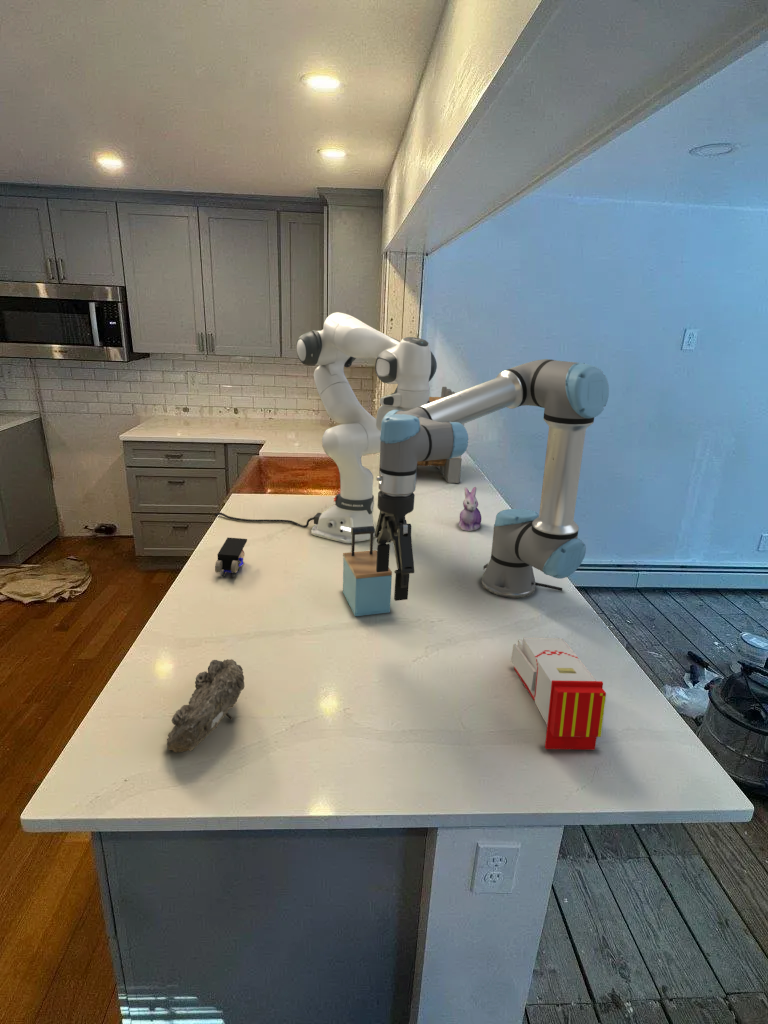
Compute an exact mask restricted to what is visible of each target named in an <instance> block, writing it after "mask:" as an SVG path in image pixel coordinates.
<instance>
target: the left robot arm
mask: <svg viewBox="0 0 768 1024" xmlns="http://www.w3.org/2000/svg"><path fill="white" fill-rule="evenodd" d="M295 349H296V350H295V351H296V356H297V358H298V360H299V361H300V363H301V364H302V365H304V366H310V367H314V366H316V367H315V369H314V372H313V380H314V385H315V389H316V391H317V393H318V396H319V398H320V401H321V403H322V405H323V407H324V409H325V412H326V413H327V416H328V417H329V418H330V420H331V421H333V422H335V423H337V425H335V426H332V427H329V428H327V429H325V431H324V432H323V435H322V437H321V447H322V449H323V452H324V453H325V455H326V456H328V457H329V458H330V459H332V461H333V462H334V463H335V465H336V466H337V470H338V472H339V482H340V484H339V485H340V488H339V489H340V490H339V491H338V492H337V494H336V495H335V496H334V497H333V502H334V504H333V505H331V506H329V507H328V508H326V509H325V510H323V512H316V514H315V515H313V517H310V518H308V519H307V520H306V524H304V525H302V524H300V523H298V522H297V521H294V520H290V519H252V518H251V519H250V518H249V519H248V518H240V517H234V516H229V515H227V514H225V513H223V512H216V513H215V514H214V517H217V516H222V517H224V518H226V519H229V520H232V521H233V520H234V521H241V522H247V523H248V522H249V523H290V524H293V525H294V526H297V527H301V528H304V529H305V528H308V527H309V525H310V522H311V521H313V524H314V525H313V526H312V528H311V530H310V533H311V536H315V537H319V538H323V539H326V540H330V541H336V542H339V543H343V544H352V535H351V528H352V527H365V526H374V527H375V523H374V513H373V512H374V509H375V496H374V474H373V472H372V471H371V469H369V468H368V467H366V466H364V465H363V463H362V457H364V456H370V455H371V456H372V455H378V454H380V435H381V423H382V420H383V418H384V416H385V415H386V414H387V413H388V412H389V411H392V410H404V411H408V410H411V409H414V408H417V407H420V406H423V405H425V404H428V403H431V402H432V401H429V397H430V389H431V388H430V381H431V380H432V379H433V378H434V377H435V375H436V372H437V369H438V363H437V359H436V357H435V355H434V354H433V352H432V351H431V344H430V343H429V342H428V341H427V340H426V339H424V338H420V337H413V336H406V337H403V338H401V340H400V339H396V338H394V337H393V336H390V335H388V334H386V333H384V332H382V331H379V330H377V329H375V328H374V327H372V326H371V325H368V324H367V323H365V322H363V321H361V320H360V319H359V318H356V317H355V316H352V315H350V314H348V313H345V312H339V311H336V312H332V313H330V314H329V315H328V316H327V317H326V318H325V320H324V322H323V329H321V330H316V329H312V330H311V331H307V332H304V333H303V334H301V335H300V336H299V337H298V339H297V340H296V344H295ZM356 359H375V363H374V371H375V374H376V377H377V378H378V380H380V382H382V383H383V384H388V385H397V386H398V387H397V386H396V388H397V393H394V392H392V393H390V394H387V395H384V396H382V397H380V398H379V404H380V406H379V407H378V409H377V412H376V417H374V416H373V415H372V414H371V413H370V412H369V411H368V410H366V409H365V408H364V406H363V405H362V404H361V402H360V401H359V400H358V398H357V396H356V394H355V392H354V391H353V388H352V386H351V384H350V382H349V380H348V378H347V376H346V374H345V371H344V370H345V369H344V368H350V367H351V366H353V365H352V364H353V362H354V361H356ZM373 538H375V532H374V533H373ZM368 540H369V541H370V534H360V535H355V543H357V542H365V541H368Z"/></svg>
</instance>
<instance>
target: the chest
mask: <svg viewBox="0 0 768 1024" xmlns="http://www.w3.org/2000/svg"><path fill="white" fill-rule="evenodd" d="M342 557H343V556H342ZM342 559H343V560H342V561H343V562H342V593H343V595H344V598H345V600H346V601H347V604H348V606H349V607H350V610H351V611H352V614H353V615H354V617H360V616H361V617H362V616H371V615H379V614H380V615H381V614H387V613H391V602H392V601H391V600H392V579H393V576H392V575H393V574H392V575H389V576H379V577H369V578H359V579H356V578H355V576H354V574H353V573H352V571H351V569H350V567H349V566H348V564H347V562H346V560H345V559H344V557H343V558H342Z"/></svg>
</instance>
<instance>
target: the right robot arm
mask: <svg viewBox="0 0 768 1024" xmlns="http://www.w3.org/2000/svg"><path fill="white" fill-rule="evenodd" d="M609 396H610V385H609V381H608V377H607V376H606V374H604V372H603V370H602V369H601V368H600V367H597V366H596V365H591V364H587V363H585V362H577V361H576V362H575V361H566V360H557V359H556V360H555V359H548V358H543V359H537V360H536V359H535V360H532V361H528V362H525V363H522V364H519V365H515V366H513V367H511V368H507V369H505V370H502V371H500V372H499V373H498V374H497V375H496V377H494V378H493V379H490V380H487V381H485V382H482V383H479V384H476V385H474V386H471V387H468V388H466V389H463V390H460V391H458V392H455V394H452V395H449V396H447V397H444V398H441V399H439V400H436V401H433V402H431V403H428V404H425V405H423V406H420V407H417V408H414V409H411V410H408V411H404V410H392V411H389V412H388V413H387V414H386V415H385V416H384V418H383V420H382V423H381V435H380V453H379V471H378V472H379V473H378V475H379V476H376V481H377V482H378V490H379V491H378V493H377V509H378V510H379V514H378V518H377V522H376V526H375V537H374V538H375V539H376V543H377V544H376V547H377V548H376V550H377V564H376V571H377V572H386V571H388V570H389V569H390V552H391V551H390V550H391V545H390V543H393V549H394V557H395V562H396V568H397V569H395V570H394V574H395V577H394V578H395V579H394V592H393V593H394V594H393V600H394V601H395V602H398V601H406V600H408V599H409V588H410V587H409V585H410V574H415V564H414V562H415V561H414V555H413V554H414V551H413V540H412V524H411V523H407V522H408V521H407V519H406V515H409V514H411V513H413V511H414V508H415V497H416V495H415V491H416V487H417V486H416V485H417V469H418V468H417V467H418V466H417V462H420V461H429V460H439V459H450V458H454V457H459V456H461V457H462V456H463V455H464V454H465V453H466V451H467V450H468V447H469V434H468V431H467V429H466V427H465V424H468V423H469V422H472V421H475V420H477V419H480V418H482V417H484V416H487V415H490V414H492V413H495V412H498V411H500V410H503V409H505V408H507V409H512V410H514V409H516V408H520V407H523V406H524V407H525V406H529V407H530V406H531V407H539V408H543V409H544V410H543V418H542V420H543V422H545V423H546V425H547V426H548V433H547V442H546V449H545V450H546V451H545V460H544V467H543V477H542V485H541V495H540V504H539V513H538V512H537V511H536V510H535V511H534V510H531V509H525V508H508V509H502V510H500V511H499V512H497V514H496V516H495V520H494V523H493V533H492V541H491V542H492V544H491V553H490V560H489V561H488V562H487V563H485V564H484V565H483V566H482V567H483V568H482V570H484V572H483V573H482V577H481V585H482V587H483V588H484V589H485V590H486V591H488V592H489V593H491V594H494V595H495V596H499V597H503V598H508V599H509V598H510V599H522V598H526V597H529V596H532V595H533V594H534V593H535V591H536V587H542V588H547V589H551V590H556V591H563V587H559V586H555V585H550V584H545V583H541V582H536V579H535V574H534V569H536V570H538V571H540V572H542V573H543V574H544V575H545V576H550V577H552V578H554V579H561V580H562V579H565V578H567V577H570V576H571V575H572V574H574V573H575V572H576V571H577V570H578V568H580V566H581V564H582V563H583V562H584V560H585V556H586V551H587V547H586V544H585V542H584V541H583V539H580V538H578V537H579V529H580V527H579V525H578V523H577V522H575V513H576V507H577V506H576V505H577V500H578V499H577V497H578V491H579V483H580V477H581V467H582V462H583V461H582V460H583V453H584V447H585V441H586V440H585V439H586V433H587V432H586V431H587V429H588V428H589V427H591V425H593V424H594V421H595V418H596V417H598V416H599V415H601V414H602V413H603V411H604V410H605V409H604V408H605V407H606V406H607V405H608V401H609V398H610V397H609ZM462 424H464V426H463V425H462ZM533 568H534V569H533Z"/></svg>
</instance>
